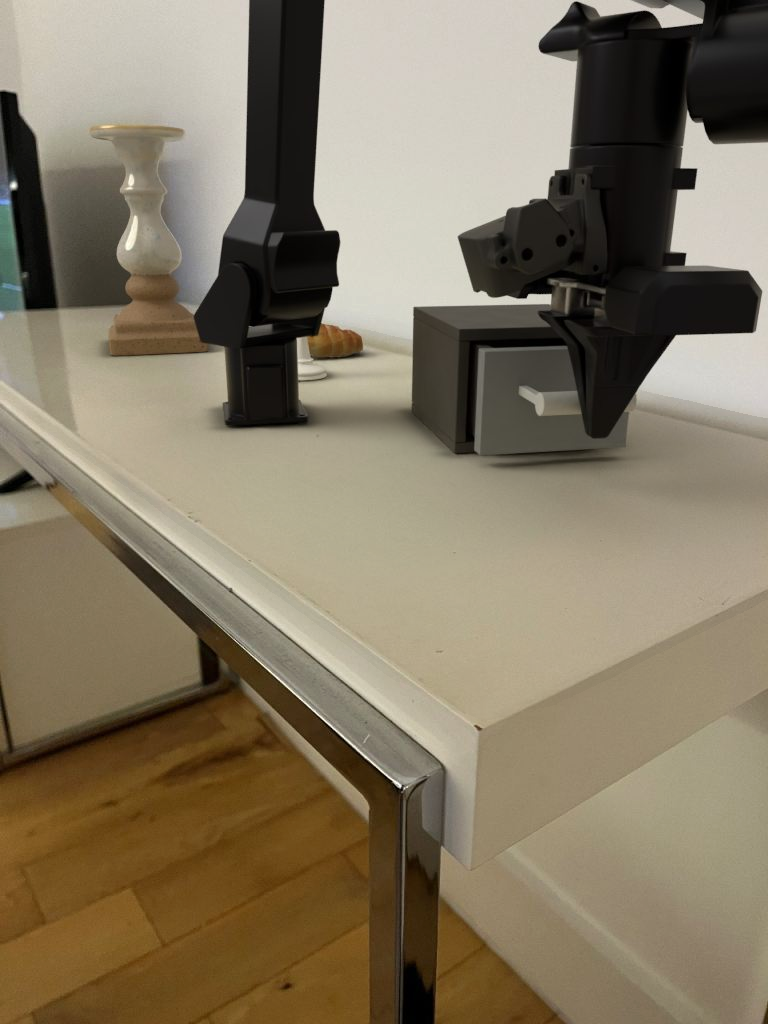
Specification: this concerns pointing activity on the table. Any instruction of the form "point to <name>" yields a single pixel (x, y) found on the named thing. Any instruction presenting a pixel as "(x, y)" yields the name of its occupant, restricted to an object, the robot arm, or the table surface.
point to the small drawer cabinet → (460, 359)
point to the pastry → (334, 342)
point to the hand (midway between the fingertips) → (596, 437)
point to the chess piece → (307, 363)
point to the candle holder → (148, 250)
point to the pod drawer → (528, 399)
